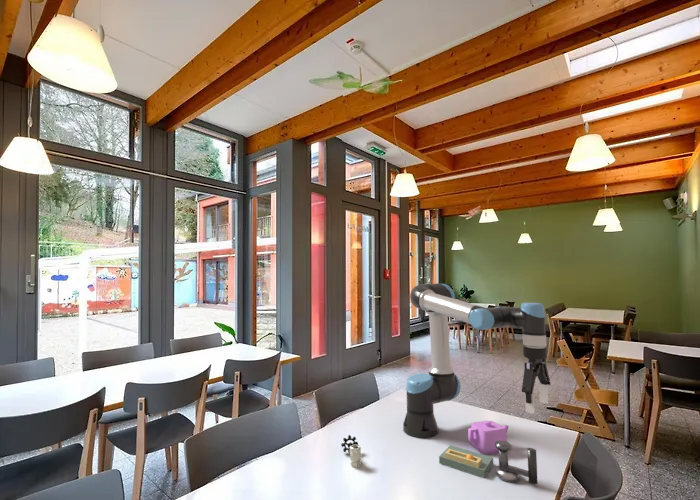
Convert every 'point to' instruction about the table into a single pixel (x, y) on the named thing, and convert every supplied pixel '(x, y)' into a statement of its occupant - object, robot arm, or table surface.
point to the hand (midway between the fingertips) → (537, 407)
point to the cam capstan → (513, 472)
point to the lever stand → (466, 461)
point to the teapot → (486, 436)
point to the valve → (353, 451)
